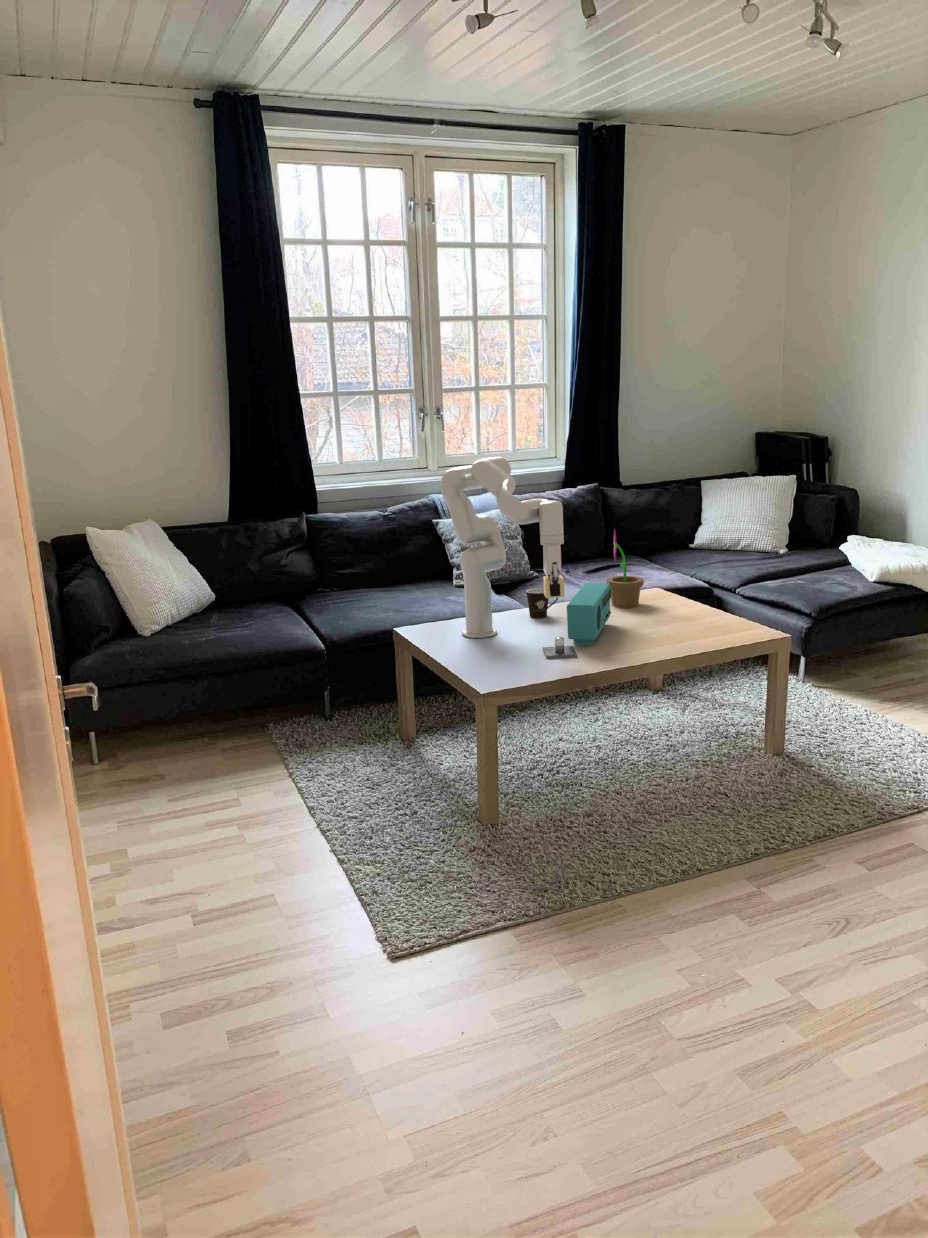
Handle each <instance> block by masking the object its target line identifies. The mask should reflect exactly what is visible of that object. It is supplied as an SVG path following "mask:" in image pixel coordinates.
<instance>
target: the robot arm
mask: <svg viewBox="0 0 928 1238" xmlns="http://www.w3.org/2000/svg"><path fill="white" fill-rule="evenodd" d="M511 472H512V467H511V464H510V462H509V461H508V460H507V459H506V458H504V457H503V456H493V457H485V458H481V459H477V460H476V461H474V462H473V464H470V465H462V466H457V467H453V468H450V469H447V470H446V471H445V472H444V473H443V475H442V477H441V479H440V492H441V495H442V498H443V499H444V502H445V504H446V506H447V508H448V511H449V515H450V518H451V521H452V524H453V528H454V531H455V535H456V537H457V540H458V541H459V543H460V544H462V545H474V544H478V543H481V545H478V546H474V547H473V546H472V547H469V548H468V549H465V550H464V551H463V552H462V553H461V555H460V559H459V560H460V562H459V563H460V567H461V573H462V576H463V586H464V587H463V589H464V604H465V605H464V606H465V607H464V610H465V628H464V629H462V630H461V633H462V636H463V637H466V638H470V639H471V638H472V639H484V638H489V637H490V638H491V637H493V636H495V635H497V633H498V629H497V628H495V627H494V626H493V607H492V605H493V604H492V586H491V581H490V579H489V577H488V576H487V573H488V572H492V571H496V570H500V569H502V568H503V567H504V566H505V565H506V562H507V553H506V549H505V545H504V543H503V538H502V535H501V532H500V528H499V526H498V523H497V522H496V520H495V519H494V518H493V517H492V516H491V515H488V514H479V515H476V512H475V509H474V506H473V503H472V501H471V500H470V499H469V497H468V496H467V495H466V494H465V493H464V491H472V490H473V491H474V490H478V489H485V490H486V491H487V492H489V493H490V494H492V495H493V496H494V497H495V499H496V504H497V507H498V510H499V511H500V513H502V515H503V516H504V517H506V518H507V519H508V520H510V521H511V522H513V523H514V524H516V525H529V524H533V523H539V538H540V539H539V540H540V545H541V546H543V547H542V550H543V554H542V557H543V560H542V561H543V563H542V564H543V567H542V569H543V572H544V574H545V575H546V576H550V580H551V584H550V596H560V584H559V575H561V574H562V552H561V551H562V549H561V545H563V544H565V539H564V538H565V537H564V536H565V535H564V508H563V503H562V501H561V500H554V499H553V500H551V499H550V500H548V499H545V498H539V497H538V498H534V499H533V498H532V499H525V500H518V499H516V498H515V497H514V496H513V495H512V494H513V493H514V491H515V489H516V486H517V483H516V480H515V478H514V477H513V476H511ZM552 577H553V578H552Z"/></svg>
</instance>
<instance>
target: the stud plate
mask: <svg viewBox="0 0 928 1238" xmlns="http://www.w3.org/2000/svg"><path fill="white" fill-rule="evenodd" d="M542 652H543V654H544V657H545V659H546V660H550V659H569V658H571V659H573V658H578V654H577V652H576V650H575V648H574V646H573V645H565V638H564V637H563V636H556V637H554V646H543V647H542Z"/></svg>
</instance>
